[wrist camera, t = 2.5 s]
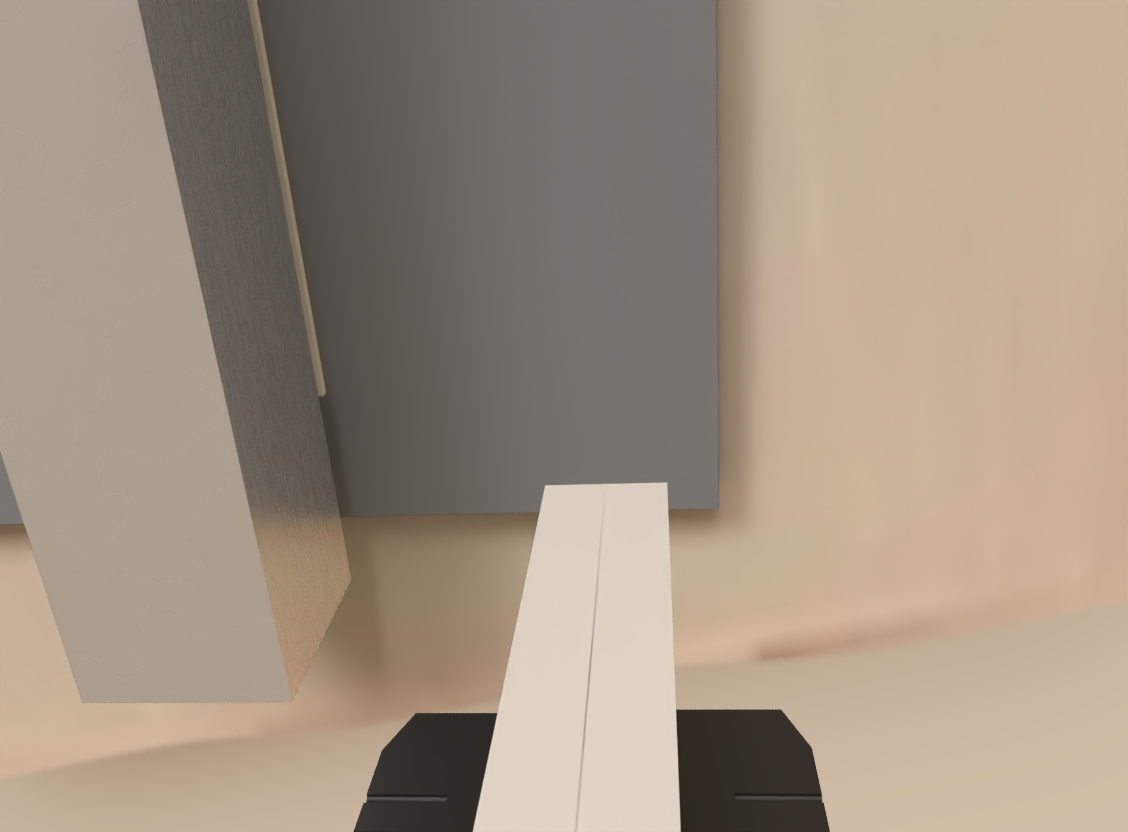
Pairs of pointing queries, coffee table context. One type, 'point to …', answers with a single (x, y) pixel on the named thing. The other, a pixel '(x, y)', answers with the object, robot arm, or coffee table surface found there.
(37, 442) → the swing bar
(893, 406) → the coffee table surface
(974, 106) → the coffee table surface
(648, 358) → the panel
